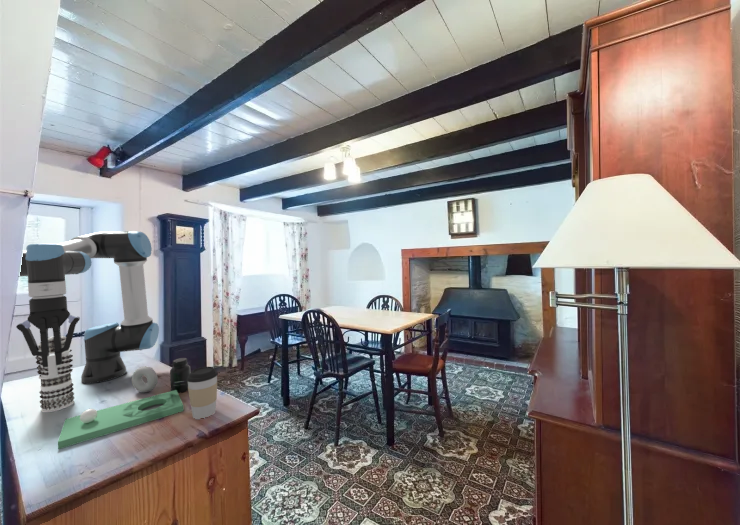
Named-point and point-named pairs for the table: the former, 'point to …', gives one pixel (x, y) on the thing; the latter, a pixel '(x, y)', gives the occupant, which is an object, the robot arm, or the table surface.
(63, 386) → the decorative candle
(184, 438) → the table surface
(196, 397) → the coffee cup
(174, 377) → the supplement bottle
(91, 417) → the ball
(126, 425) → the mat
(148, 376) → the donut
